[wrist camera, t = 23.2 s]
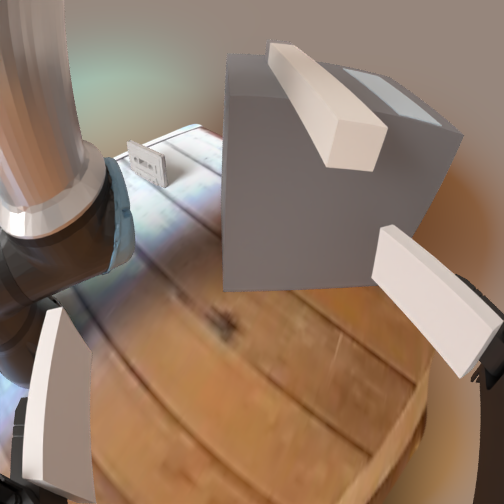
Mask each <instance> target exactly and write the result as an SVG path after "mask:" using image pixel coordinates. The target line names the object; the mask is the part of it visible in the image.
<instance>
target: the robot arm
mask: <svg viewBox="0 0 504 504" xmlns="http://www.w3.org/2000/svg"><path fill="white" fill-rule="evenodd" d="M134 249H135V230H134V222H133V217H132V214H131V211H130V202H129V196H128V192H127V188H126V184H125V181H124V178H123V175H122V172H121V170H120V167H119V165H118V163H117V162H116V160H115V159H113V158H110V157H108V158H104V157H103V155H102V154H101V152H100V151H99V149H98V148H97V147H96V146H94V145H93V144H92V143H90V142H87V141H85V140H82V136H81V131H80V127H79V122H78V117H77V112H76V106H75V101H74V95H73V89H72V83H71V76H70V68H69V60H68V52H67V41H66V29H65V11H64V0H0V372H1V374H2V375H3V376H4V377H6V378H7V379H8V380H10V381H11V382H13V383H14V384H16V385H18V386H20V387H23V388H27V389H29V395H28V397H25V398H21V400H20V402H19V404H18V406H17V408H16V410H15V418H14V425H15V426H14V427H13V438H12V449H11V473H10V479H9V478H7V477H6V476H4V475H2V474H0V504H68V502H67V499H69V500H71V501H74V502H77V503H96V498H95V490H94V481H93V471H92V458H91V438H90V384H91V364H92V352H91V350H90V349H89V347H88V346H87V345H86V343H85V342H84V340H83V339H82V337H81V335H80V334H79V332H78V331H77V329H76V328H75V326H74V325H73V323H72V321H71V319H70V316H69V315H68V313H67V312H66V310H65V309H64V308H63V306H62V305H61V304H60V302H59V301H58V300H56V299H55V298H54V297H53V296H51V295H53V294H56V293H58V292H60V291H62V290H65V289H67V288H69V287H72V286H74V285H76V284H79V283H81V282H83V281H86V280H88V279H90V278H93V277H95V276H98V275H100V274H102V275H104V274H107V273H109V272H110V271H111V270H112V269H113V268H116V267H118V266H120V265H122V264H124V263H126V262H127V261H128V260H129V259H130V258H131V257H132V255H133V253H134ZM371 278H372V279H373V280H374V281H375V282H376V283H377V284H378V285H379V286H380V287H381V288H382V290H383V291H384V292H385V293H386V294H387V295H388V296H389V297H390V298H391V299H392V300H393V301H394V302H395V304H396V305H397V306H398V307H399V308H400V309H401V310H402V311H403V312H404V314H405V315H406V316H407V317H408V318H409V319H410V320H411V321H412V323H413V324H414V325H415V326H416V327H417V328H418V329H419V330H420V332H421V333H422V334H423V335H424V336H425V337H426V339H427V340H428V341H429V342H430V343H431V344H432V346H433V347H434V348H435V349H436V350H437V351H438V353H439V354H440V355H441V356H442V357H443V359H444V360H445V361H446V362H447V364H448V365H449V366H450V367H451V368H452V369H453V371H454V372H455V373H456V374H457V376H458V377H459V378H460V379H461V378H462V377H463V376H465V375H466V374H467V373H468V372H470V371H471V370H472V369H473V367H474V366H475V365H476V363H477V362H478V360H479V361H480V362H481V364H480V366H479V367H478V368H477V370H476V371H475V372H474V374H473V375H472V377H471V382H473V381H474V380H475V379H476V377H477V376H478V375H479V377H478V378H477V380H476V382H477V383H480V401H481V429H480V431H481V432H480V450H479V463H478V473H477V481H476V488H475V494H474V500H473V504H504V314H503V313H502V312H501V311H500V310H499V309H498V308H497V307H496V306H495V305H494V304H493V303H492V302H490V300H489V299H488V298H487V297H485V296H483V295H482V293H481V292H480V291H479V290H478V289H476V288H475V286H474V285H472V284H471V283H470V282H469V281H468V280H467V279H465V278H463V277H461V276H459V275H457V274H453V273H452V272H451V271H450V270H449V269H448V268H447V267H445V266H444V265H443V264H442V263H441V262H440V261H438V260H437V259H436V258H435V257H434V256H432V255H431V254H430V253H429V252H427V251H426V250H425V249H424V248H423V247H421V246H420V245H419V244H418V243H416V242H415V241H414V240H413V239H411V238H410V237H409V236H408V235H406V234H405V233H404V232H402V231H401V230H400V229H399V228H397V227H396V226H395V225H389V226H385V227H381V228H380V233H379V239H378V245H377V251H376V256H375V262H374V267H373V272H372V277H371Z"/></svg>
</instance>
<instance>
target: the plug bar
mask: <svg viewBox="0 0 504 504" xmlns="http://www.w3.org/2000/svg"><path fill="white" fill-rule="evenodd" d="M265 60H266V62H267V64H268V65H269V67H270V68H271V70H272V71H273V73H274V75H275V76H276V78H277V79H278V81H279V83H280V84H281V86H282V88H283V89H284V91H285V93H286V94H287V96H288V98H289V100H290V101H291V103H292V105H293V106H294V108H295V110H296V112H297V113H298V115H299V117H300V119H301V121H302V122H303V124H304V126H305V128H306V130H307V131H308V133H309V135H310V137H311V139H312V141H313V143H314V145H315V146H316V148H317V150H318V152H319V154H320V156H321V158H322V160H323V162H324V164H325V166H326V167H329V168H340V169H351V170H361V171H371V172H373V170H374V167H375V164H376V161H377V159H378V156H379V153H380V150H381V147H382V144H383V141H384V139H385V136H386V133H387V130H388V127H387V126H386V125H385V124H384V123H383V122H382V121H381V120H380V119H379V118H378V117H377V116H376V115H375V114H374V113H373V112H372V111H371V110H370V109H369V108H368V107H367V106H366V105H365V104H364V103H363V102H362V101H361V100H360V99H358V98H357V97H356V96H355V95H354V94H353V93H352V92H351V91H350V90H349V89H348V88H346V87H345V86H344V85H343V84H342V83H341V82H340V81H338V80H337V79H336V78H335V77H334V76H333V75H331V74H330V73H329V72H328V71H327V70H325V69H324V68H323V67H322V66H320V65H319V64H318V63H317V62H315V61H314V60H313V59H312V58H310V57H309V56H308V55H306V54H305V53H304V52H303V51H301V50H300V49H299V48H297V47H296V46H294V45H293V44H291V43H290V42H287V41H277V40H267V44H266V53H265Z"/></svg>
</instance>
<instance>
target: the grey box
mask: <svg viewBox="0 0 504 504" xmlns="http://www.w3.org/2000/svg"><path fill="white" fill-rule="evenodd" d="M315 62H316V61H315ZM317 63H318V64H319V65H320V66H322V67H323V68H324V69H325V70H327V71H328V72H329V73H330V74H331V75H333V76H334V77H335V78H336V79H337V80H338V81H340V82H341V83H342V84H343V85H344V86H345V87H346V88H348V89H349V90H350V91H351V92H352V93H353V94H354V95H355V96H356V97H357V98H358V99H360V100H361V101H362V102H363V103H364V104H365V105H366V106H367V107H368V108H369V109H370V110H371V111H372V112H373V113H374V114H375V115H376V116H377V117H378V118H379V119H380V120H381V121H382V122H383V123H384V124H385V125H386V126H387V127H388V130H387V133H386V136H385V139H384V141H383V144H382V147H381V150H380V153H379V156H378V159H377V161H376V164H375V167H374V170H373V172H371V171H361V170H351V169H340V168H329V167H326V166H325V164H324V162H323V160H322V158H321V156H320V154H319V152H318V150H317V148H316V146H315V145H314V143H313V141H312V139H311V137H310V135H309V133H308V131H307V130H306V128H305V126H304V124H303V122H302V121H301V119H300V117H299V115H298V113H297V112H296V110H295V108H294V106H293V105H292V103H291V101H290V100H289V98H288V96H287V94H286V93H285V91H284V89H283V88H282V86H281V84H280V83H279V81H278V79H277V78H276V76H275V75H274V73H273V71H272V70H271V68H270V67H269V65H268V64H267V62H266V60H265V55H251V54H227V62H226V80H225V101H224V122H223V149H222V183H221V227H222V265H223V292H239V291H276V290H303V289H325V288H345V287H362V286H377V285H378V284H377V283H376V282H375V281H374V280H373V279H372V278H371V277H372V272H373V267H374V262H375V256H376V251H377V245H378V239H379V233H380V228H381V227H385V226H389V225H395V226H396V227H397V228H399V229H400V230H401V231H402V232H404V233H405V234H406V235H408V236H409V237H410V238H412V237H413V235H414V233H415V231H416V229H417V228H418V226H419V224H420V223H421V221H422V219H423V217H424V216H425V214H426V212H427V210H428V208H429V207H430V205H431V203H432V201H433V199H434V197H435V195H436V193H437V191H438V189H439V188H440V185H441V184H442V182H443V180H444V177H445V176H446V174H447V171H448V169H449V167H450V165H451V163H452V161H453V159H454V157H455V155H456V152H457V150H458V148H459V146H460V143H461V141H462V139H463V136H464V135H463V134H462V133H461V132H460V131H459V130H458V129H456V128H455V127H454V126H453V125H452V124H451V123H450V122H448V121H447V120H446V119H445V118H444V117H443V116H441V115H440V114H439V113H438V112H436V111H435V110H434V109H433V108H431V107H430V106H429V105H428V104H426V103H425V102H424V101H422V100H421V99H420V98H418V97H417V96H416V95H414V94H413V93H412V92H410V91H409V90H407V89H406V88H405V87H403V86H402V85H400V84H399V83H398V82H396V81H394V80H393V79H392V78H390V77H387V76H383V75H379V74H375V73H371V72H367V71H363V70H359V69H354V68H350V67H345V66H340V65H334V64H329V63H323V62H317Z"/></svg>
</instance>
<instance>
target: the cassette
mask: <svg viewBox="0 0 504 504" xmlns="http://www.w3.org/2000/svg"><path fill="white" fill-rule="evenodd" d="M127 147H128V153H129V159H130V165H131V170H132V171H134V172H135V174H137V175H139V176H141V177H143V178H144V179H146V180H148V181H150V182H151V183H153V184H155V185H157V186H161V187H163V188H165V187H167V186H168V185H167V176H166V166H165V156H164V155H163V154H161V153H159V152H156V151H154V150H152V149H150V148H147V147H145V146H143V145H140V144H138V143H136V142H134V141H131V140H129V141H127Z"/></svg>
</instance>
